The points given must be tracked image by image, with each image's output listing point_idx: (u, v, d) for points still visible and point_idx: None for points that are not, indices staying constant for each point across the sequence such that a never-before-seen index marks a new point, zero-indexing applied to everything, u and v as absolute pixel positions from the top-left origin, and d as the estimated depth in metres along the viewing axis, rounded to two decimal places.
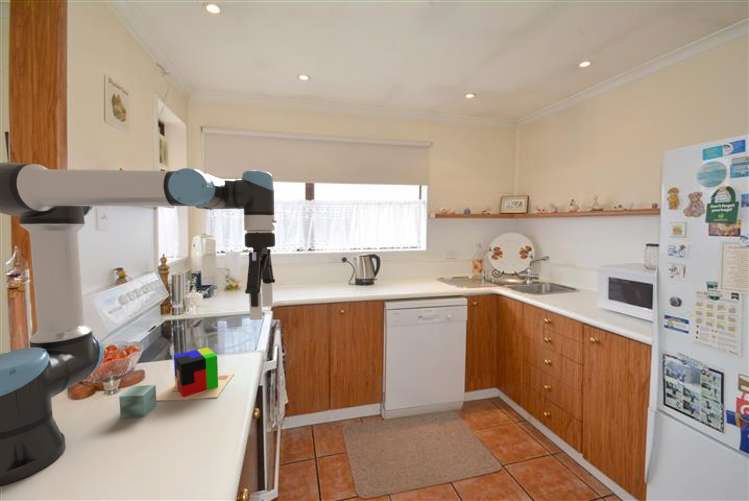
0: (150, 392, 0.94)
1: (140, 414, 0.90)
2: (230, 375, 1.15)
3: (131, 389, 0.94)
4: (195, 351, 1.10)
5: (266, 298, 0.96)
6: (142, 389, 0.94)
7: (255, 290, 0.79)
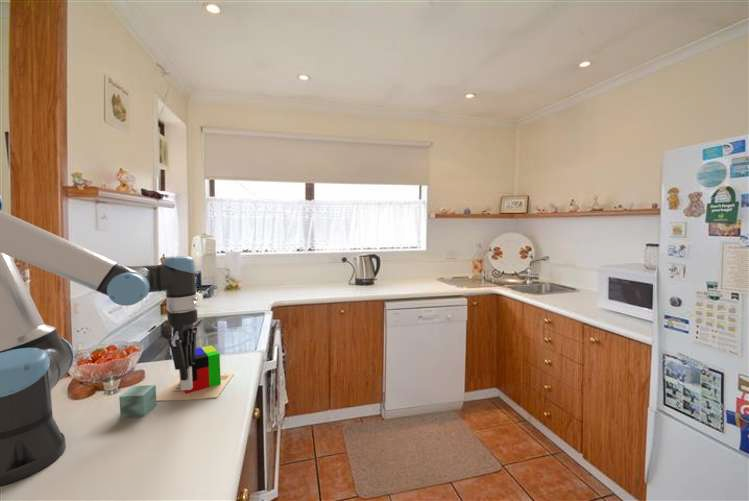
0: (150, 392, 0.94)
1: (140, 414, 0.90)
2: (230, 375, 1.15)
3: (131, 389, 0.94)
4: (199, 349, 1.12)
5: None
6: (142, 389, 0.94)
7: (182, 368, 0.95)
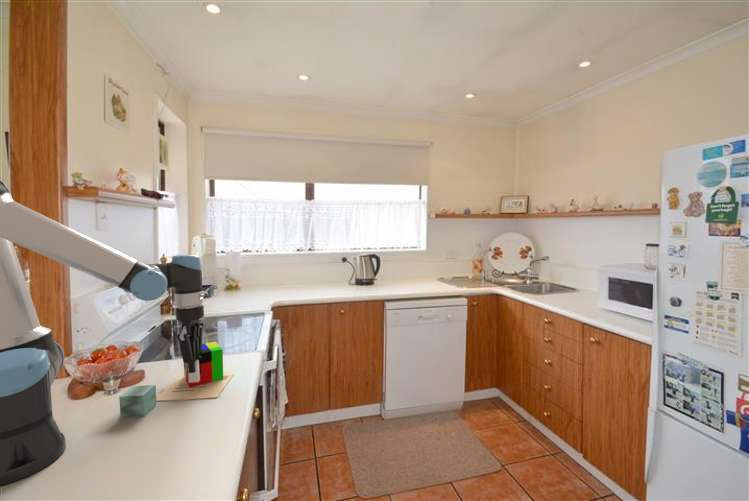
0: (150, 392, 0.94)
1: (140, 414, 0.90)
2: (230, 375, 1.15)
3: (131, 389, 0.94)
4: (203, 345, 1.16)
5: None
6: (142, 389, 0.94)
7: (190, 361, 1.00)
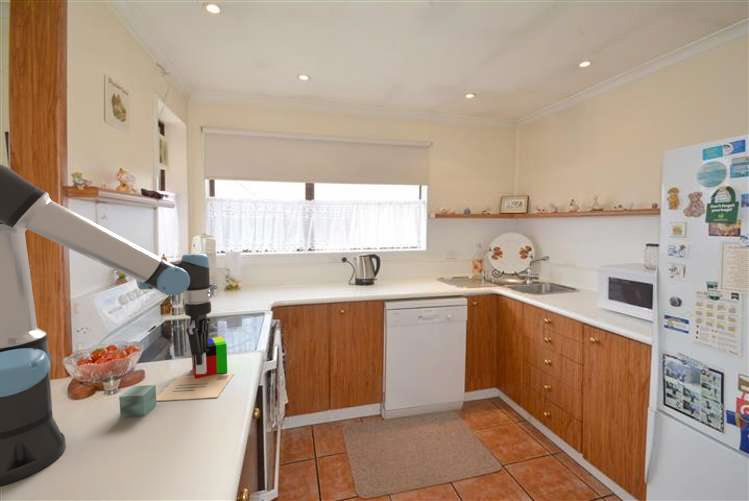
0: (150, 392, 0.94)
1: (140, 414, 0.90)
2: (230, 375, 1.15)
3: (131, 389, 0.94)
4: (210, 339, 1.22)
5: None
6: (142, 389, 0.94)
7: (198, 353, 1.06)
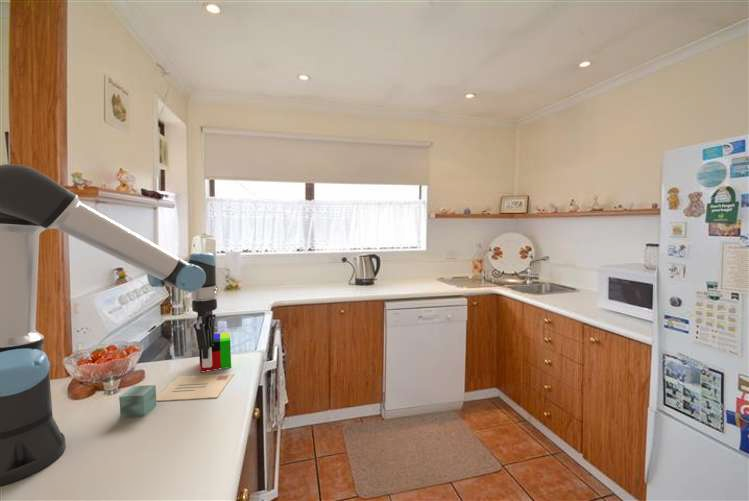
0: (150, 392, 0.94)
1: (140, 414, 0.90)
2: (230, 375, 1.15)
3: (131, 389, 0.94)
4: (218, 334, 1.28)
5: None
6: (142, 389, 0.94)
7: (204, 348, 1.12)
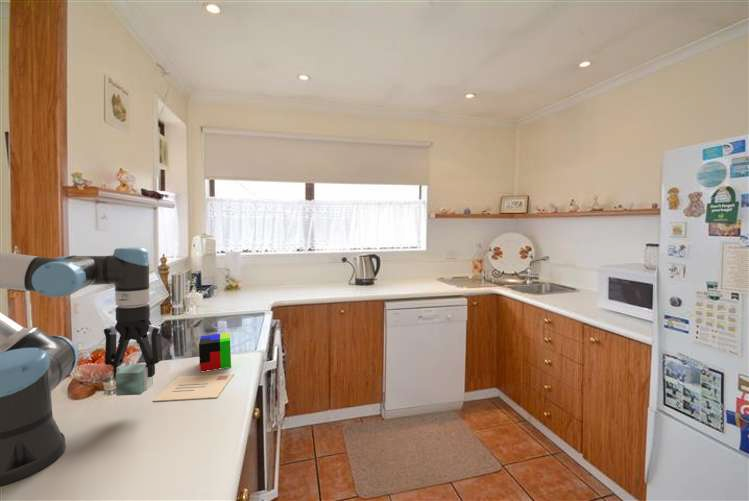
0: None
1: (136, 392, 0.90)
2: (230, 375, 1.15)
3: (127, 367, 0.93)
4: (218, 335, 1.28)
5: None
6: (139, 367, 0.93)
7: None
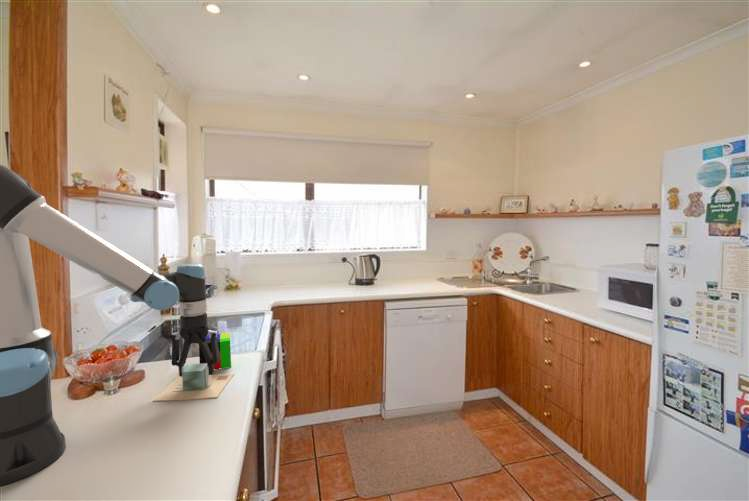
0: None
1: (199, 387, 1.04)
2: (230, 375, 1.15)
3: (190, 366, 1.08)
4: (218, 335, 1.28)
5: None
6: (199, 366, 1.08)
7: None
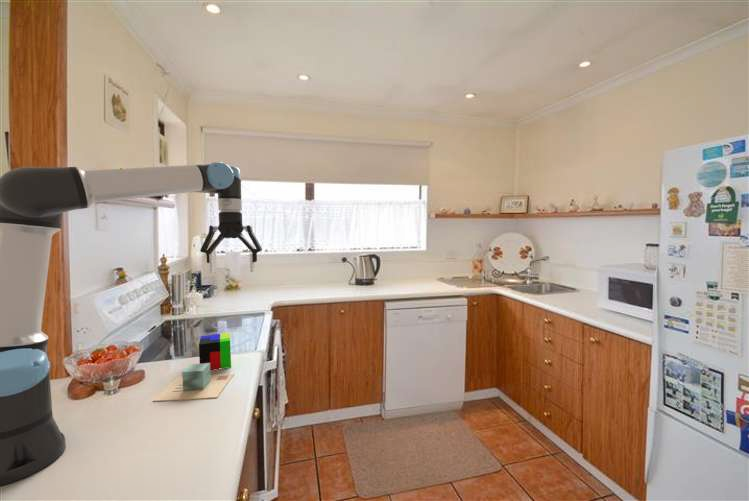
0: (207, 369, 1.08)
1: (199, 387, 1.04)
2: (230, 375, 1.15)
3: (190, 366, 1.08)
4: (218, 335, 1.28)
5: None
6: (199, 366, 1.08)
7: None
